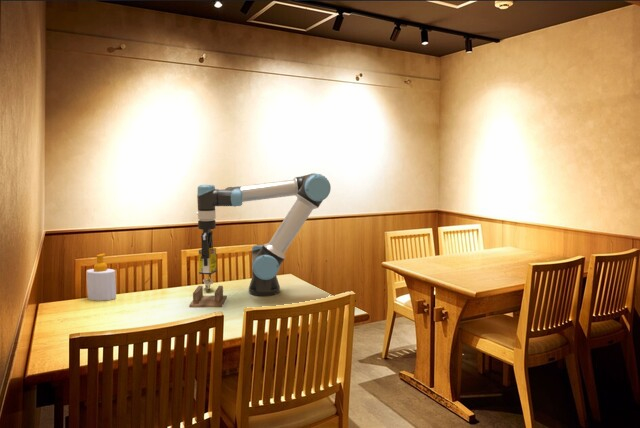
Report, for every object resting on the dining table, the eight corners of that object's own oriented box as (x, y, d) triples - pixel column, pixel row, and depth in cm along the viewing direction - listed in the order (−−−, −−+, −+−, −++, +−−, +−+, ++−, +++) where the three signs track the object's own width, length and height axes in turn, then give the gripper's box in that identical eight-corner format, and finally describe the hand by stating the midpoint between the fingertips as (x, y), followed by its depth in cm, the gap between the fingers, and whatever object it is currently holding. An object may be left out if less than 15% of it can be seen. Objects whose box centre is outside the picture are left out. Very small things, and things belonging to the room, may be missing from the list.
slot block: (226, 297, 219) (226, 284, 218) (221, 306, 205) (221, 293, 204) (196, 297, 218) (195, 285, 217) (189, 307, 204) (189, 293, 204)
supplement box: (211, 274, 206) (210, 250, 205) (198, 274, 208) (198, 249, 206) (216, 271, 212) (216, 247, 211) (204, 270, 213) (204, 247, 212)
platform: (218, 285, 241) (217, 273, 240) (223, 295, 224) (223, 281, 223) (194, 287, 237) (193, 274, 236) (197, 297, 220) (197, 284, 219)
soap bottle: (120, 296, 219) (118, 253, 217) (109, 301, 211) (107, 257, 209) (94, 295, 221) (92, 252, 219) (83, 300, 213) (80, 256, 211)
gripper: (202, 217, 217) (203, 265, 219) (193, 222, 197) (194, 276, 200) (219, 217, 217) (220, 265, 220) (211, 222, 197) (212, 276, 200)
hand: (207, 270), depth 210 cm, fingers closed on supplement box, 7 cm apart
